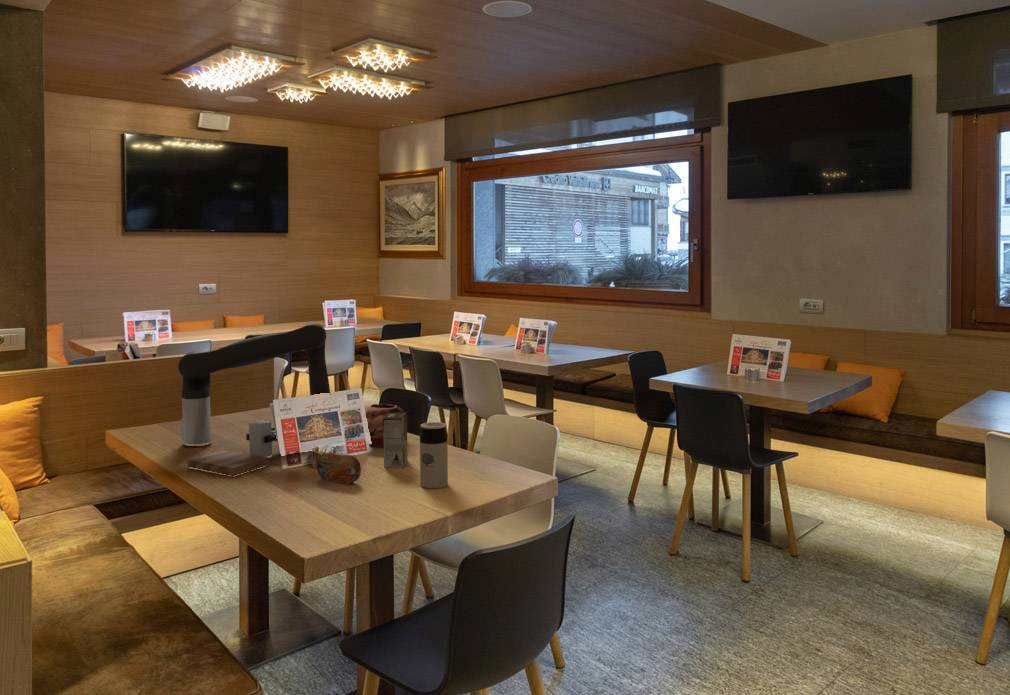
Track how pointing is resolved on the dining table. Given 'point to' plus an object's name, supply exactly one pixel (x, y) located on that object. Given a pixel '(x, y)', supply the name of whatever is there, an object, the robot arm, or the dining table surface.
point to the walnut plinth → (228, 462)
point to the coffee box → (395, 439)
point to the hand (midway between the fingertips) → (255, 438)
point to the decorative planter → (379, 421)
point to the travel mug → (433, 455)
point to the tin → (338, 468)
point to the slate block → (260, 438)
